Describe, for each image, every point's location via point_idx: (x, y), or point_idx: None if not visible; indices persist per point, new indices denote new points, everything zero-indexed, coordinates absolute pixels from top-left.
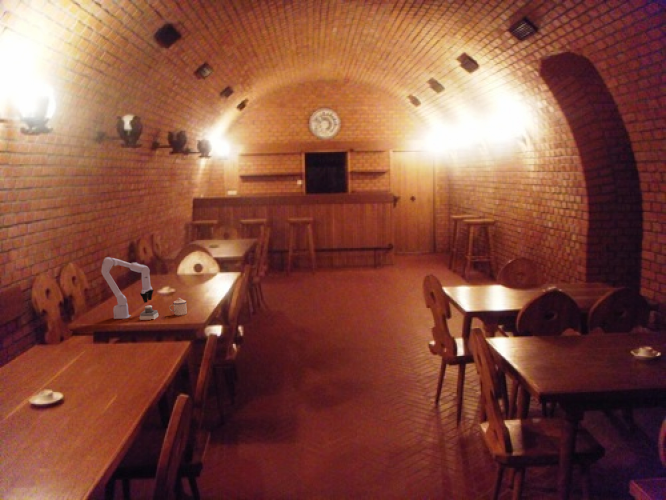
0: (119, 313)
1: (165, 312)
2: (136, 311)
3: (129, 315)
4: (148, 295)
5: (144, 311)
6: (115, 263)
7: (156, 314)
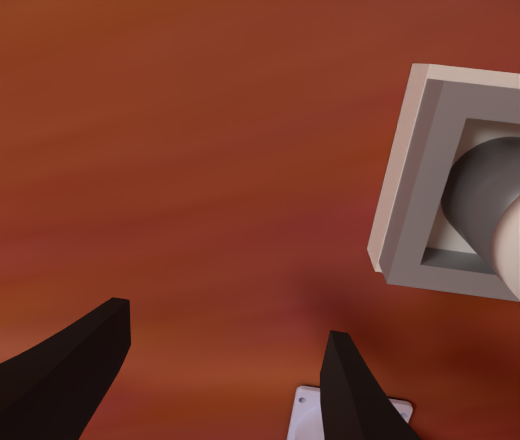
0: None
1: (201, 9)
2: (126, 368)
3: (314, 399)
4: (76, 418)
5: (469, 276)
6: None
7: (515, 73)
